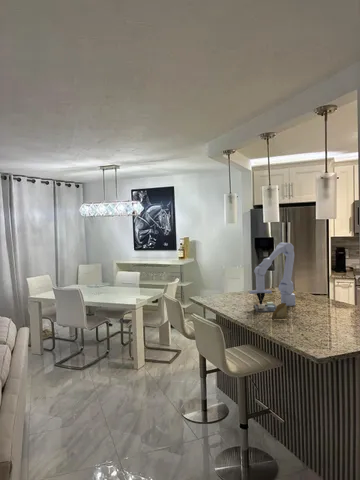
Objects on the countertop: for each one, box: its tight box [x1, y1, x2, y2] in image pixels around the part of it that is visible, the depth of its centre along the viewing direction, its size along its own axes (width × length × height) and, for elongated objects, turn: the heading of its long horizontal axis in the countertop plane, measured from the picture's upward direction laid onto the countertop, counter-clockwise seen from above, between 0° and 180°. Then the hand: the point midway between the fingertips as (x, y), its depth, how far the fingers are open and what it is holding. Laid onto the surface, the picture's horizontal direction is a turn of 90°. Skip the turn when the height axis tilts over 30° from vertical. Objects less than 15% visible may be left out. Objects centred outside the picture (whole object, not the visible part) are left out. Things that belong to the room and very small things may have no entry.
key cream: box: [257, 303, 266, 309], centre depth 236 cm, size 4×4×2 cm
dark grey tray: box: [253, 303, 277, 313], centre depth 239 cm, size 14×18×2 cm
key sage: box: [266, 301, 274, 306], centre depth 241 cm, size 4×4×2 cm
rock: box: [271, 302, 288, 321], centre depth 218 cm, size 11×9×10 cm
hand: (260, 304), depth 242 cm, fingers closed, pressing on key terracotta
